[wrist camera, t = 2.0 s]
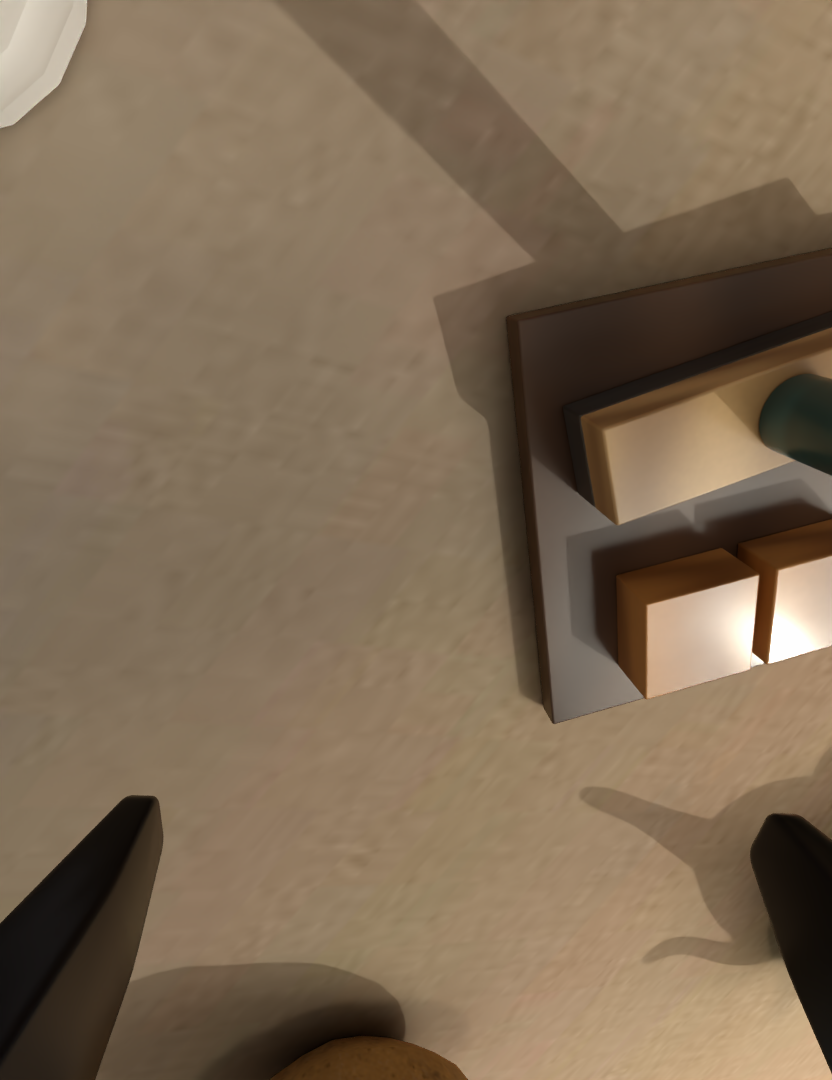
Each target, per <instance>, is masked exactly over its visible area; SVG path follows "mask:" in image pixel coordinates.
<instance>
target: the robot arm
mask: <svg viewBox="0 0 832 1080" xmlns="http://www.w3.org/2000/svg"><path fill="white" fill-rule="evenodd" d="M162 846H163V828H162V821H161V813H160V806H159V801H158V799H157V798H156V797H155V796H139V795H131V796H127V797H125V798H124V799H123V800H121V801H120V802H119V803H118V804H117V805H116V806H115V807H114V808H113V809H112V811H111V812H110V813H109V814H108V815H107V816H106V817H105V818H104V819H103V820H102V821H101V822H100V823H99V824H98V825H97V826H96V827H95V828H94V829H93V830H92V831H91V832H90V833H89V834H88V835H87V836H86V837H85V838H84V839H83V840H82V841H81V842H80V843H79V844H78V845H77V846H76V847H75V848H74V849H73V850H72V851H71V852H70V853H69V854H68V855H67V856H66V857H65V858H64V859H63V860H62V861H61V862H60V863H59V864H58V865H57V866H56V867H55V868H54V869H53V870H52V871H51V872H50V873H49V874H48V875H47V876H46V877H45V878H44V879H43V880H42V882H41V883H40V884H39V885H38V886H37V887H36V888H35V889H34V890H33V891H32V892H31V893H30V894H29V895H28V896H27V897H26V898H25V899H24V900H23V901H22V902H21V903H20V904H19V905H18V906H17V907H16V908H15V909H14V910H13V911H12V912H11V913H10V914H9V915H8V916H7V917H6V918H5V919H4V920H3V921H2V922H1V923H0V1080H95V1078H96V1075H97V1072H98V1069H99V1067H100V1064H101V1061H102V1058H103V1055H104V1052H105V1049H106V1047H107V1044H108V1041H109V1038H110V1035H111V1032H112V1029H113V1027H114V1024H115V1021H116V1018H117V1015H118V1012H119V1009H120V1007H121V1004H122V1001H123V998H124V995H125V992H126V989H127V986H128V983H129V980H130V977H131V974H132V971H133V967H134V963H135V960H136V956H137V952H138V948H139V944H140V940H141V936H142V931H143V927H144V923H145V919H146V915H147V911H148V906H149V902H150V898H151V894H152V890H153V886H154V881H155V877H156V873H157V869H158V865H159V861H160V856H161V852H162ZM750 859H751V864H752V868H753V871H754V874H755V877H756V879H757V882H758V885H759V888H760V891H761V894H762V897H763V900H764V903H765V906H766V909H767V912H768V915H769V918H770V921H771V924H772V927H773V930H774V933H775V936H776V939H777V942H778V945H779V948H780V951H781V954H782V957H783V960H784V962H785V965H786V968H787V970H788V973H789V976H790V978H791V980H792V983H793V985H794V988H795V990H796V993H797V995H798V997H799V999H800V1002H801V1004H802V1006H803V1009H804V1011H805V1013H806V1015H807V1018H808V1020H809V1022H810V1025H811V1027H812V1029H813V1032H814V1034H815V1036H816V1038H817V1041H818V1043H819V1045H820V1048H821V1050H822V1052H823V1054H824V1057H825V1059H826V1061H827V1064H828V1066H829V1068H830V1071H831V1073H832V840H831V839H830V838H828V837H827V836H826V835H825V834H823V833H822V832H821V831H820V830H818V829H817V828H816V827H815V826H813V825H812V824H811V823H809V822H808V821H807V820H806V819H804V818H803V817H801V816H799V815H796V814H785V813H773V814H771V815H769V816H768V817H767V818H766V819H765V821H764V823H763V825H762V827H761V829H760V831H759V833H758V835H757V837H756V838H755V840H754V842H753V844H752V846H751V851H750Z"/></svg>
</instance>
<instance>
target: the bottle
mask: <svg viewBox="0 0 832 1080" xmlns="http://www.w3.org/2000/svg"><path fill="white" fill-rule="evenodd" d="M86 15H87V0H0V128H3V127H6V126H10V125H14V124H15V123H16V122H17V121H18V120H19V119H21V118H22V117H23V116H24V115H25V114H26V113H27V112H29V111H30V110H31V109H32V108H33V107H34V106H35V105H37V104H38V103H39V102H40V101H41V100H42V99H43V98H44V97H46V96H47V95H48V94H49V93H50V92H51V91H52V90H54V89H55V88H56V87H57V86H58V85H59V84H60V82H61V80H62V77H63V75H64V73H65V70H66V68H67V66H68V64H69V61H70V59H71V57H72V54H73V52H74V50H75V48H76V45H77V43H78V41H79V38H80V36H81V34H82V32H83V29H84V27H85V25H86Z"/></svg>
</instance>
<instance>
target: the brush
mask: <svg viewBox="0 0 832 1080" xmlns="http://www.w3.org/2000/svg"><path fill="white" fill-rule="evenodd" d="M563 412H564V418H565V423H566V429H567V434H568V440H569V446H570V451H571V457H572V462H573V468H574V473H575V479H576V485H577V490H578V494H579V495H580V496H582V497H583V498H584V499H585V500H586V501H588V502H589V503H590V504H591V505H592V506H594V507H596V509H597V510H599V511H600V512H601V513H602V514H603V515H605V516H606V517H607V518H608V519H609V520H611V521H612V522H613V523H614V524H615V525H621V524H624V523H626V522H629V521H632V520H635V519H637V518H640V517H643V516H646V515H648V514H651V513H654V512H657V511H659V510H662V509H665V508H667V507H670V506H673V505H676V504H678V503H681V502H684V501H687V500H689V499H692V498H695V497H697V496H700V495H703V494H706V493H708V492H711V491H714V490H717V489H719V488H722V487H725V486H728V485H730V484H733V483H736V482H738V481H741V480H744V479H747V478H749V477H752V476H755V475H758V474H760V473H763V472H766V471H768V470H771V469H774V468H777V467H779V466H782V465H785V464H788V463H790V462H793V461H798V462H800V463H803V464H805V465H807V466H810V467H812V468H814V469H817V470H819V471H821V472H824V473H826V474H828V475H831V476H832V311H831V312H828V313H825V314H822V315H820V316H817V317H814V318H811V319H808V320H805V321H803V322H800V323H797V324H794V325H791V326H788V327H786V328H783V329H780V330H777V331H774V332H771V333H769V334H766V335H763V336H760V337H757V338H754V339H752V340H749V341H746V342H743V343H740V344H737V345H735V346H732V347H729V348H726V349H723V350H720V351H718V352H715V353H712V354H709V355H706V356H703V357H701V358H698V359H695V360H692V361H689V362H686V363H684V364H681V365H678V366H675V367H672V368H669V369H667V370H664V371H661V372H658V373H655V374H652V375H650V376H647V377H644V378H641V379H638V380H635V381H633V382H630V383H627V384H624V385H621V386H618V387H616V388H613V389H610V390H607V391H604V392H602V393H599V394H596V395H593V396H590V397H587V398H585V399H582V400H579V401H576V402H573V403H570V404H568V405H565V406H563Z"/></svg>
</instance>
